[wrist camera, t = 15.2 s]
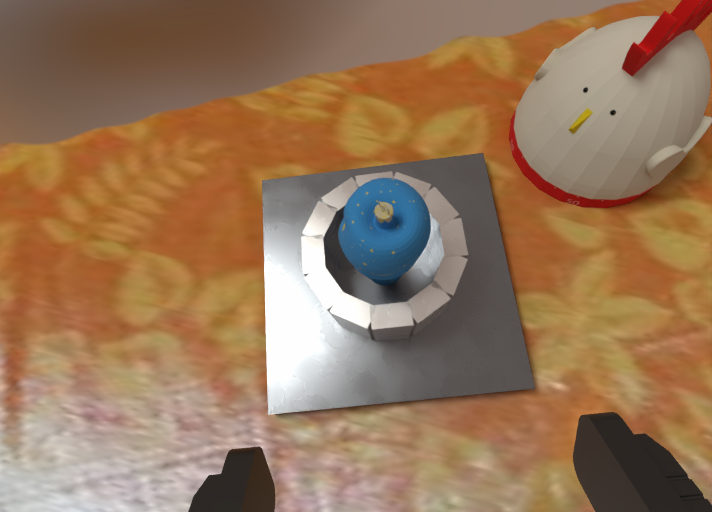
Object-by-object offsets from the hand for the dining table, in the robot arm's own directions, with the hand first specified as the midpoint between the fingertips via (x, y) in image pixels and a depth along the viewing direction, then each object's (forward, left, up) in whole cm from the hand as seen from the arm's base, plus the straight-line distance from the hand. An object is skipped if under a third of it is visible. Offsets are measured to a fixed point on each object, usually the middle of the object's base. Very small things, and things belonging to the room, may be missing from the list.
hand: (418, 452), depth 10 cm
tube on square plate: (0, +11, -23) cm, 25 cm away
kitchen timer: (+20, +22, -23) cm, 37 cm away
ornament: (0, +10, -21) cm, 24 cm away
